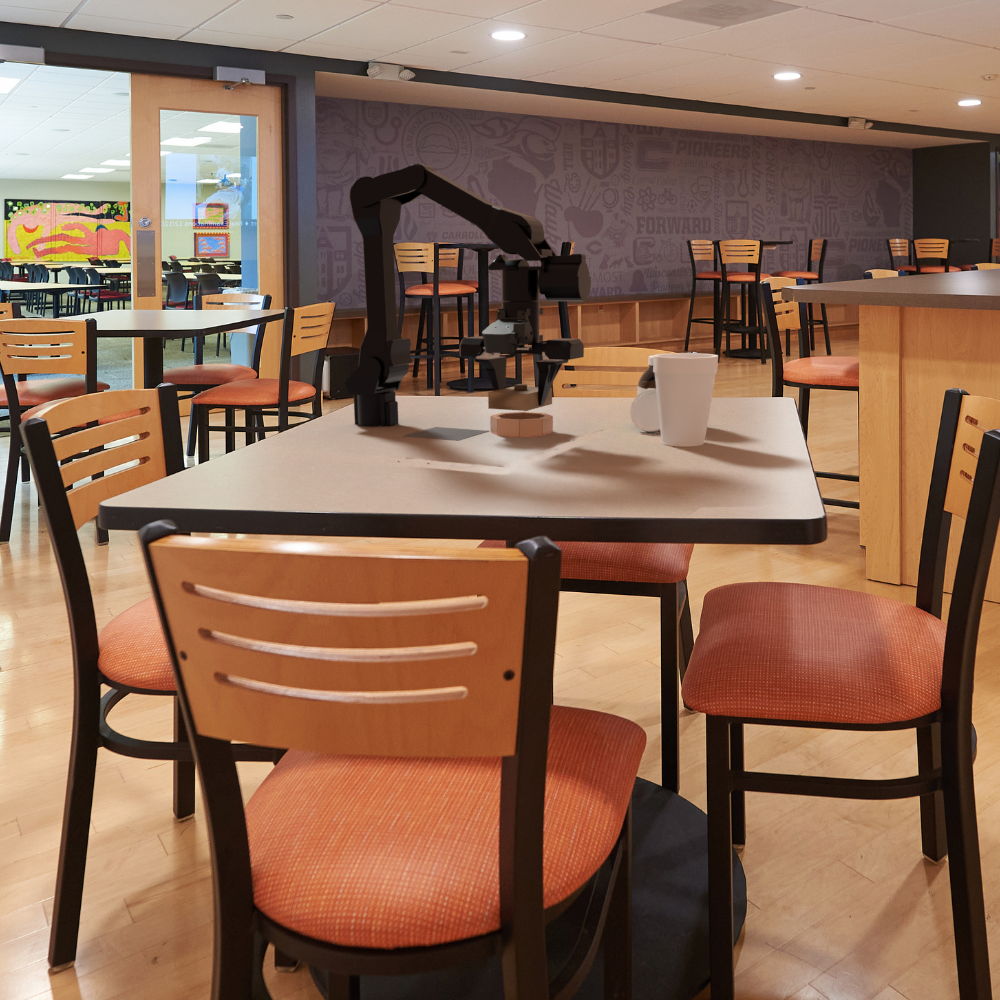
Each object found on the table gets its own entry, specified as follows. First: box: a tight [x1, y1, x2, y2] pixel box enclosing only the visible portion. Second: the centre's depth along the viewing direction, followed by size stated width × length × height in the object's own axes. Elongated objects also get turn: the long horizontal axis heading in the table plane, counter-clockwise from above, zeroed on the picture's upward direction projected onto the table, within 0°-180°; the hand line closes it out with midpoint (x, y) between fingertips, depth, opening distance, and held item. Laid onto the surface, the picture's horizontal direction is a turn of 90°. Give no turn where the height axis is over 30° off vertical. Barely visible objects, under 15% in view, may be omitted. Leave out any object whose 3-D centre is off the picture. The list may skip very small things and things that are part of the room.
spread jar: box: [629, 354, 661, 434], centre depth 160 cm, size 12×11×12 cm
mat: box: [402, 426, 490, 441], centre depth 152 cm, size 10×10×1 cm
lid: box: [487, 383, 553, 412], centre depth 152 cm, size 6×9×3 cm
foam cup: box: [653, 352, 719, 448], centre depth 146 cm, size 10×9×13 cm
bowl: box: [489, 411, 554, 438], centre depth 153 cm, size 9×9×4 cm
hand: (520, 404), depth 152 cm, fingers closed on lid, 6 cm apart
